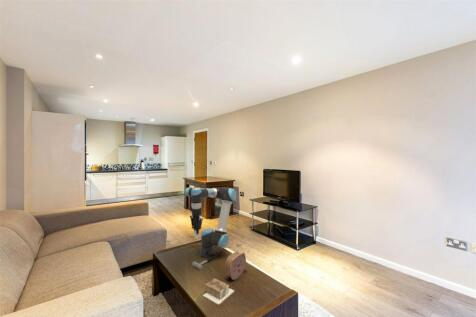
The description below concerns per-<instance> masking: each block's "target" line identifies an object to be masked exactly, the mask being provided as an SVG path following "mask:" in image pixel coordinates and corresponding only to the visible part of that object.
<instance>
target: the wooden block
mask: <svg viewBox="0 0 476 317" xmlns="http://www.w3.org/2000/svg"><path fill="white" fill-rule="evenodd" d="M229 286H230V285H229V284H228V283H225V282H224V281H221V280H219V279H217V278H215V277H214V278H213V279H211V280H210V281H208V282H207V283H205V293H209V294H211V295H212V296H214V297H216V298H218V299H221V298H222V297H224V296H225V295H226V294H227V293H228V292H229Z"/></svg>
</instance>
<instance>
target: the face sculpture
mask: <svg viewBox="0 0 476 317" xmlns="http://www.w3.org/2000/svg"><path fill="white" fill-rule="evenodd" d="M246 266H247V258H246V253H245V252H242V253H240V252H239V251H235V252H233V253H231V254H229V255H228V257H227V258H226V261H225V264H224V270H225V271H224V272H225V276H226V277H227V278H229V279H231V280H233V281H234V280H237V279H238V278H239V277H240V276H241V275H243V273H244V271H245V268H246Z"/></svg>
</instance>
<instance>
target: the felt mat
mask: <svg viewBox="0 0 476 317" xmlns="http://www.w3.org/2000/svg"><path fill="white" fill-rule="evenodd" d="M234 292H235V290H234V289H232V288H229V292H228V293H227V294H226V295H225V296H224V297H222V298H221V299H218V298H216V297H214V296H212V295H211V294H209V293H207V292H205V293H204V294H203V295H202V296H203V298H205V299H207V300H209V301H211V302H213V303H214V304H216V305H217V306H220V305H221V304H222V303H223V302H224V301H226V300H227V298H228V297H229V296H231V295H232V294H233V293H234Z"/></svg>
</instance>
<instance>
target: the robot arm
mask: <svg viewBox="0 0 476 317" xmlns="http://www.w3.org/2000/svg"><path fill="white" fill-rule="evenodd" d="M184 195H185V196H186V197H190V198H191V204H190V205H191V209H190V210H191V211H190V212H191V215H190V216H189V218H190V223H191V229H193V234H194V239H199V234H200V233H201V234H200V241H201V242H200V243H201V246H200V249H199V254H198V255H199V256H200V257H201V258H205V259H206V258H207V259H208V258H210V257H212V256H214V255H216V249H215V246H216V247H218V248H225V247H226V245H228V242H229V236H230V235H229V234H228V231H227V227H228V222H229V217H230V211H231V207H232V204H233V203H234V201H236V199H237V191H236V190H235V189H234V188H232V187H231V188H230V187H212V188H208V187H207V188H202V187H185V190H184ZM207 198H211V199H212V198H213V199H218V200H220V201H221V207H220V212H219V217H218V222H217V228H216V229H213V228H205V229H203V230H201V229H202V225H203V220H204V217H202V214H201V213H202V200H204V199H207ZM200 230H201V232H200Z"/></svg>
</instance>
